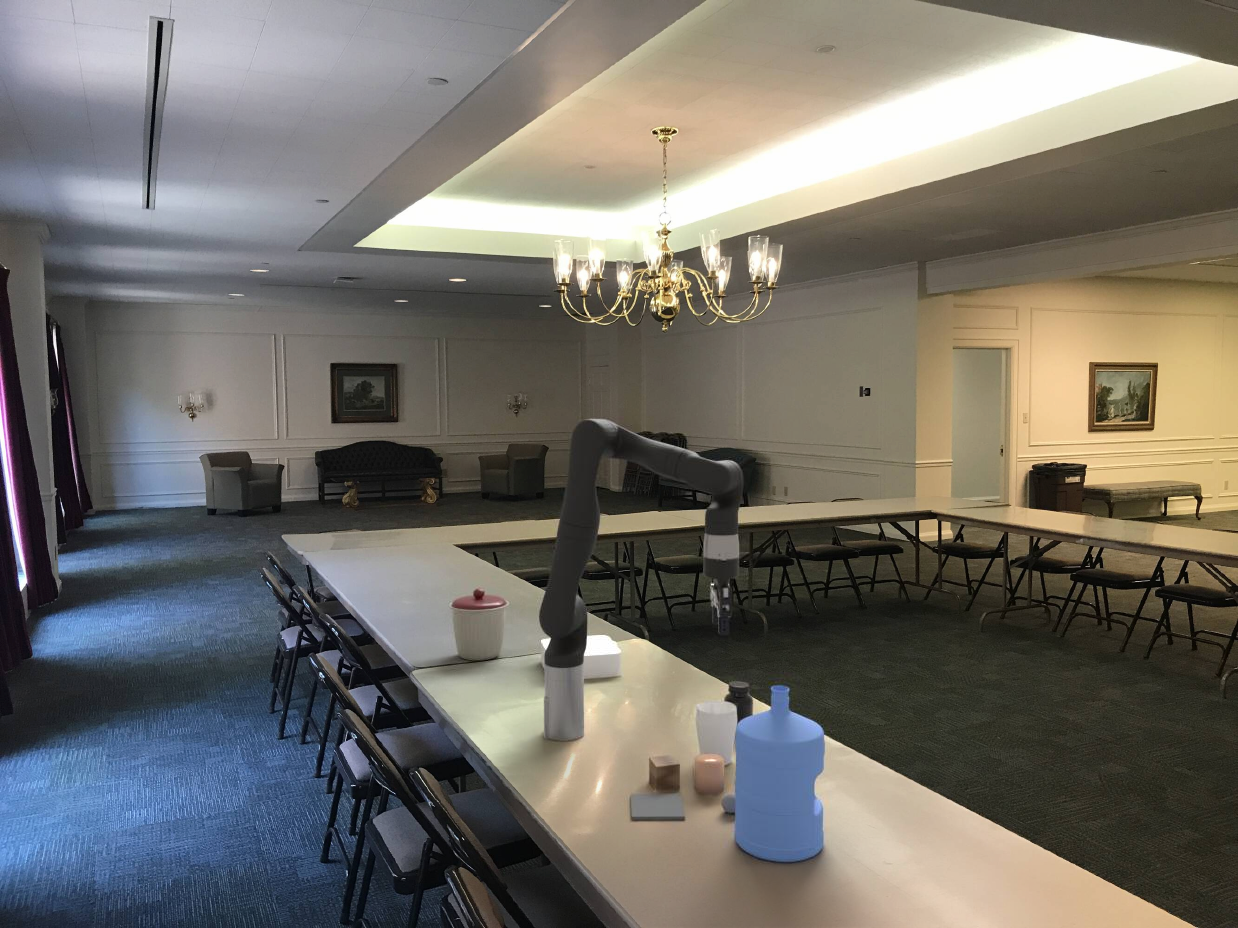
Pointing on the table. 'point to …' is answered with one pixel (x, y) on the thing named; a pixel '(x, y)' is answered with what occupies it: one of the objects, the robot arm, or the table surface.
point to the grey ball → (729, 802)
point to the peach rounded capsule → (709, 773)
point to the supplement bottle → (740, 699)
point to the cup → (716, 728)
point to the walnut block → (664, 772)
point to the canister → (479, 625)
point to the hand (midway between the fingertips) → (720, 629)
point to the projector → (596, 657)
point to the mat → (657, 807)
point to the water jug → (778, 783)
